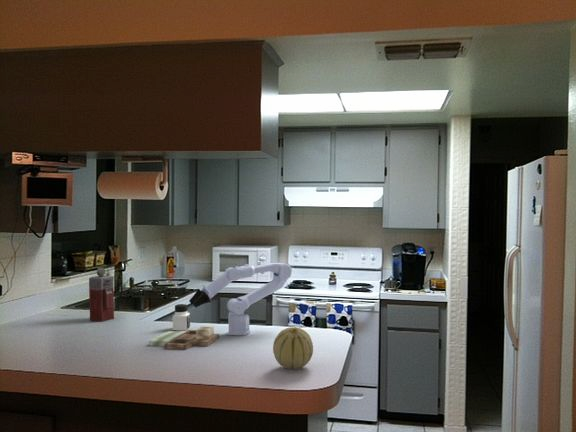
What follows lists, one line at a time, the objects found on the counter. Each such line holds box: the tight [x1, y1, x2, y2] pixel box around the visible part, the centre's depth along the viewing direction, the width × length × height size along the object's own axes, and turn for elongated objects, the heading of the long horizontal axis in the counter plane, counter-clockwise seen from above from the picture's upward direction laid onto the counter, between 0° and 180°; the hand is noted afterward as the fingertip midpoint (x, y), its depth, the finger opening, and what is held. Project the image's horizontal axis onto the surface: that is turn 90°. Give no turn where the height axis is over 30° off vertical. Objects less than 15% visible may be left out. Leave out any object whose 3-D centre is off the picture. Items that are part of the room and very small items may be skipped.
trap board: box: [148, 329, 220, 350], centre depth 229 cm, size 26×26×2 cm
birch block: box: [195, 326, 215, 339], centre depth 228 cm, size 6×6×4 cm
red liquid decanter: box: [88, 267, 115, 323], centre depth 281 cm, size 9×11×28 cm
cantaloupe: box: [272, 326, 314, 370], centre depth 187 cm, size 15×15×15 cm
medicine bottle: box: [172, 303, 191, 331], centre depth 254 cm, size 7×7×12 cm
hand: (192, 304), depth 234 cm, fingers open, 7 cm apart
